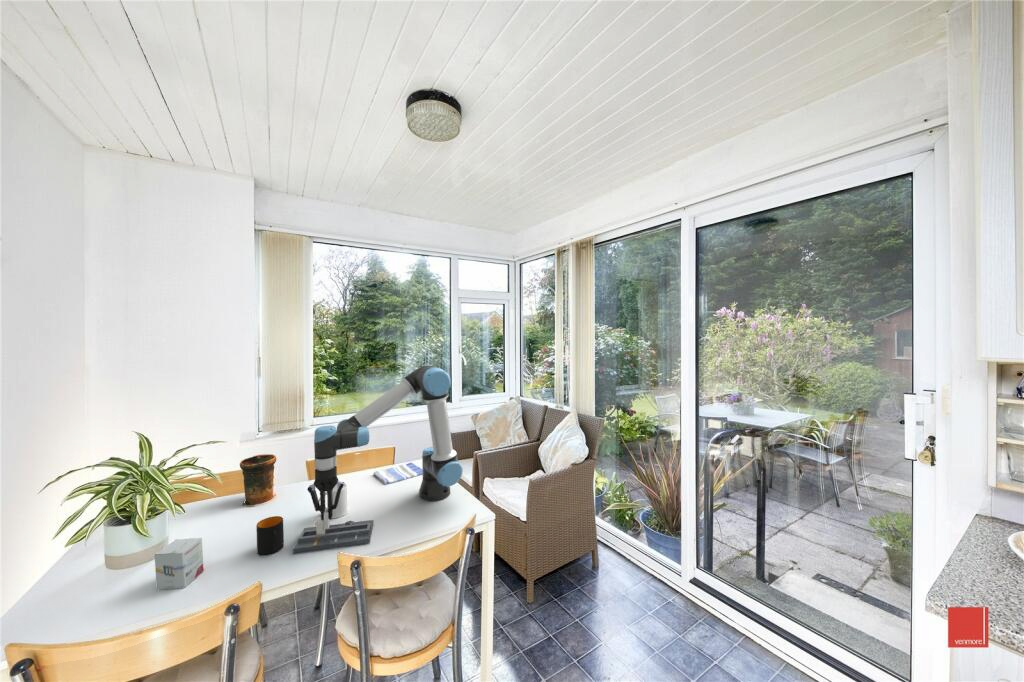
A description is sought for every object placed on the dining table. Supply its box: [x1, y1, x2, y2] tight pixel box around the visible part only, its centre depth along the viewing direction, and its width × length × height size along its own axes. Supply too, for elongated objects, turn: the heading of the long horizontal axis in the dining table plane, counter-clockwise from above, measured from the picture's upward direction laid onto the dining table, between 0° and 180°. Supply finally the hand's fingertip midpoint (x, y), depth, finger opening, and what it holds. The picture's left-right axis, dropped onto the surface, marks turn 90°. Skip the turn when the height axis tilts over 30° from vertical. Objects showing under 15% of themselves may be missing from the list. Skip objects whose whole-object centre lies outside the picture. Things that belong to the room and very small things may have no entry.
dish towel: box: [373, 462, 423, 485], centre depth 204 cm, size 17×24×3 cm
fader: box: [314, 516, 325, 535], centre depth 141 cm, size 3×4×6 cm
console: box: [292, 519, 375, 555], centre depth 143 cm, size 26×14×3 cm, turn 104°
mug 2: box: [318, 483, 349, 519], centre depth 161 cm, size 12×8×12 cm
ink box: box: [154, 537, 204, 591], centre depth 119 cm, size 9×9×12 cm
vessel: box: [239, 453, 277, 508], centre depth 174 cm, size 14×14×20 cm
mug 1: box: [256, 515, 285, 557], centre depth 135 cm, size 8×12×10 cm
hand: (326, 526), depth 142 cm, fingers closed
